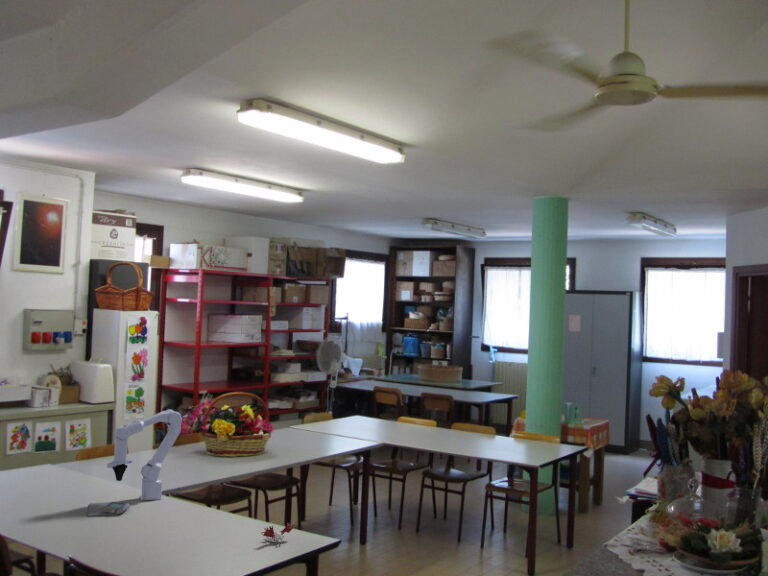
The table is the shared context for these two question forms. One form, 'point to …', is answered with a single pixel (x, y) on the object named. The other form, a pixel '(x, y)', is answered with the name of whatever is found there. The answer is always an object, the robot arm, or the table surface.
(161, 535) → the table surface
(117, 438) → the robot arm
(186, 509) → the table surface
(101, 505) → the mat
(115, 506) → the clover print pouch
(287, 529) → the figurine
